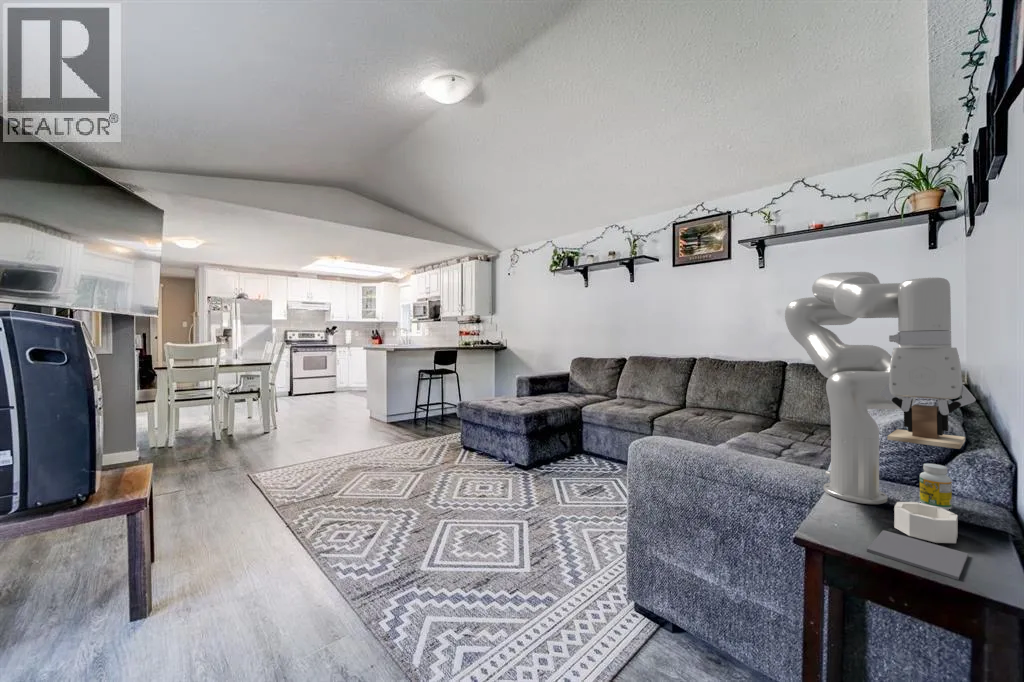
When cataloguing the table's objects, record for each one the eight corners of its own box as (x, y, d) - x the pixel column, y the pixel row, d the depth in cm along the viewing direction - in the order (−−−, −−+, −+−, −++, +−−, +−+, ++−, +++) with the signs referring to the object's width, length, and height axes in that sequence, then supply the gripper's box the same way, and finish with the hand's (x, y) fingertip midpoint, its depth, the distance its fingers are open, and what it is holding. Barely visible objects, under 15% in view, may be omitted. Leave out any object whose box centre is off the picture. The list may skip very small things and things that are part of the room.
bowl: (884, 521, 92) (884, 501, 92) (928, 522, 91) (928, 502, 91) (921, 542, 83) (921, 519, 83) (970, 543, 82) (970, 520, 82)
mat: (866, 551, 80) (866, 548, 80) (883, 532, 87) (883, 530, 87) (958, 580, 70) (958, 577, 70) (968, 556, 78) (968, 553, 78)
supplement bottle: (958, 511, 97) (958, 469, 97) (933, 510, 97) (933, 469, 97) (937, 501, 102) (937, 462, 102) (913, 501, 103) (913, 462, 103)
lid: (887, 439, 84) (886, 405, 84) (897, 432, 91) (896, 401, 91) (960, 449, 77) (959, 411, 77) (965, 440, 83) (964, 406, 83)
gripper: (866, 341, 88) (867, 429, 88) (985, 339, 75) (987, 442, 75) (874, 341, 93) (875, 424, 92) (987, 340, 80) (989, 436, 80)
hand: (925, 431), depth 84 cm, fingers closed on lid, 3 cm apart
